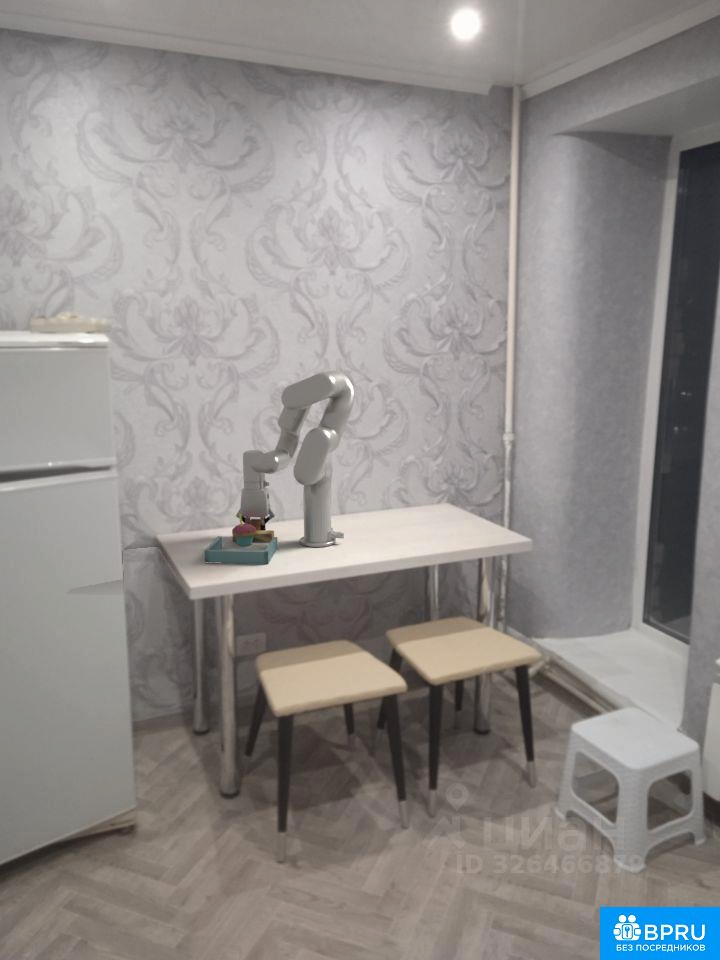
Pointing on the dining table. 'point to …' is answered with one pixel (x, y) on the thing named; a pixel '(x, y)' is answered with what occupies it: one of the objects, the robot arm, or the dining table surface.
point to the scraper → (260, 532)
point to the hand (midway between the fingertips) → (256, 534)
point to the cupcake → (244, 533)
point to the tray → (239, 554)
